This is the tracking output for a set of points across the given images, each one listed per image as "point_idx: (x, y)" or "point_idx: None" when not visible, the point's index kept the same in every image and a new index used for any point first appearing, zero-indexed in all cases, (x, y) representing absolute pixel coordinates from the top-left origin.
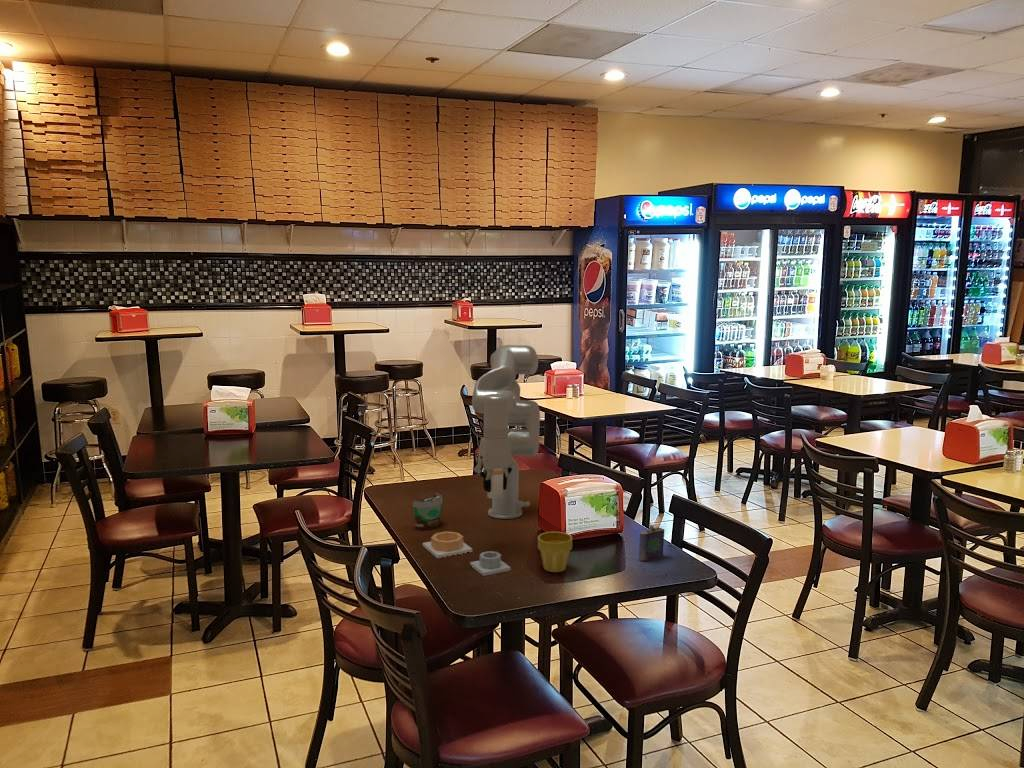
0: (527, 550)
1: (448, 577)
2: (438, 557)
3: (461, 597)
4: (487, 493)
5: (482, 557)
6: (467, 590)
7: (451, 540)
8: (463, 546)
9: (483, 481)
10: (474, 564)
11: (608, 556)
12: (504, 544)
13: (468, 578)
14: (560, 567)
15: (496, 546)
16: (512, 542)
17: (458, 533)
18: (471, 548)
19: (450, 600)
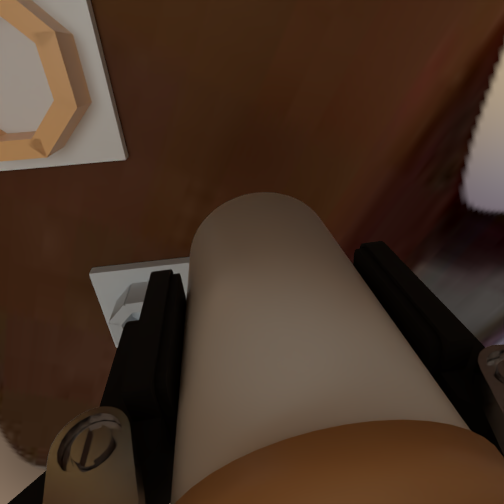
0: (327, 215)
1: (7, 323)
2: None
3: (37, 415)
4: (189, 265)
5: (115, 338)
6: (57, 393)
7: (5, 142)
8: (90, 117)
9: (107, 385)
10: (101, 292)
11: (483, 321)
12: (283, 127)
13: (71, 341)
14: None
15: (243, 135)
16: (323, 118)
17: (55, 48)
18: (122, 154)
19: (7, 421)
